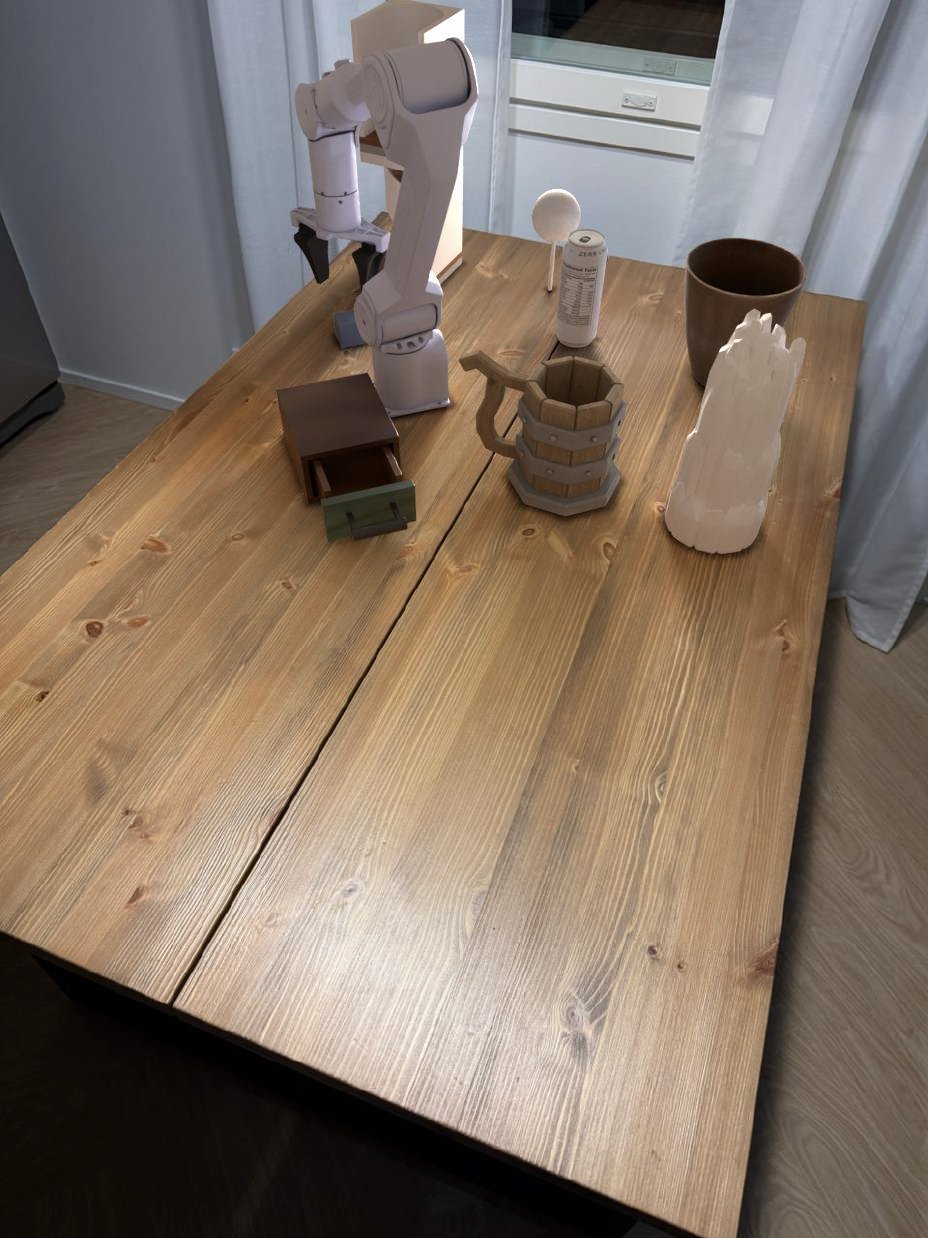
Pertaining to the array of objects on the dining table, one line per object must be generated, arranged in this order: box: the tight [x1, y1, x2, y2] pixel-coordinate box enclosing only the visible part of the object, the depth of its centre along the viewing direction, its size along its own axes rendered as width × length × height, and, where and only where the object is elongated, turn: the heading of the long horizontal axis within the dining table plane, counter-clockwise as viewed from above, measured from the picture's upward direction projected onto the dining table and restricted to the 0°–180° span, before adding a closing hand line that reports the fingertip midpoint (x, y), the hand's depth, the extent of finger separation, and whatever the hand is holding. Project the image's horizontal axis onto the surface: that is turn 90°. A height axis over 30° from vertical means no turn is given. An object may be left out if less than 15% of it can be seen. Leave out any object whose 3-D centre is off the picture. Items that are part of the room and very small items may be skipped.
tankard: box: [458, 349, 628, 517], centre depth 104 cm, size 20×13×15 cm, turn 65°
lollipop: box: [531, 188, 582, 291], centre depth 133 cm, size 7×7×15 cm
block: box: [332, 309, 367, 349], centre depth 127 cm, size 4×4×4 cm
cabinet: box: [275, 372, 402, 505], centre depth 108 cm, size 14×12×7 cm
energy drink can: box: [554, 228, 609, 349], centre depth 124 cm, size 6×6×15 cm
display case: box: [350, 0, 465, 285], centre depth 129 cm, size 11×11×35 cm
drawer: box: [308, 444, 417, 542], centre depth 102 cm, size 17×10×5 cm, turn 19°
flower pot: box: [683, 237, 808, 387], centre depth 118 cm, size 15×15×16 cm
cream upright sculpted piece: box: [664, 309, 807, 555], centre depth 95 cm, size 11×11×25 cm
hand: (345, 287), depth 123 cm, fingers open, 7 cm apart
